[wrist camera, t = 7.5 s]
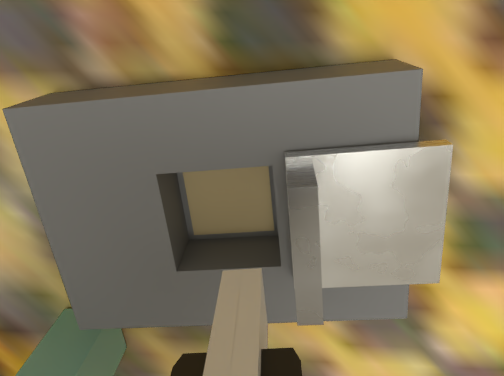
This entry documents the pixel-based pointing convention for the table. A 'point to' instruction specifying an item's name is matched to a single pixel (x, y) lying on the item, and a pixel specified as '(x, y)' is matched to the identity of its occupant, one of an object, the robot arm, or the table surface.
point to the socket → (199, 185)
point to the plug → (75, 350)
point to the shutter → (365, 218)
